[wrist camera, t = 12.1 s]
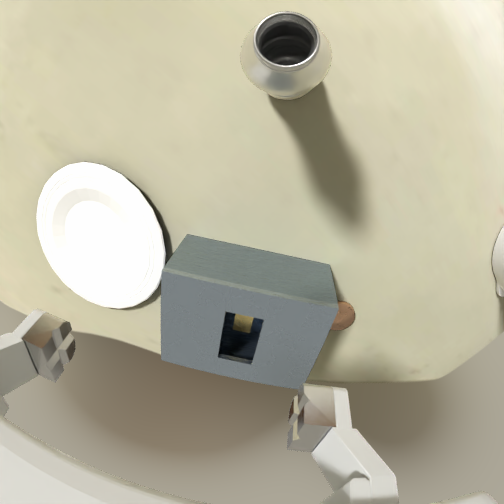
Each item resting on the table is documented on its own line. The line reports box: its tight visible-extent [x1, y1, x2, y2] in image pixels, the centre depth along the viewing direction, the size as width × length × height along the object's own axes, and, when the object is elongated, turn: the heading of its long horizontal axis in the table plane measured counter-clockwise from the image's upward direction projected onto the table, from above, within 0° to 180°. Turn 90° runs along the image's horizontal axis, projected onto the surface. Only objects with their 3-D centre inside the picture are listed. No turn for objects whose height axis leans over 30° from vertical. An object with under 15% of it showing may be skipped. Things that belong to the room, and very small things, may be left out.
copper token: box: [330, 301, 355, 330], centre depth 45 cm, size 5×5×1 cm
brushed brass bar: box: [233, 314, 254, 333], centre depth 43 cm, size 2×5×5 cm, turn 169°
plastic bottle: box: [240, 11, 332, 100], centre depth 22 cm, size 6×7×20 cm
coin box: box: [161, 234, 339, 389], centre depth 41 cm, size 20×15×10 cm
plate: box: [37, 162, 166, 309], centre depth 44 cm, size 25×25×2 cm
